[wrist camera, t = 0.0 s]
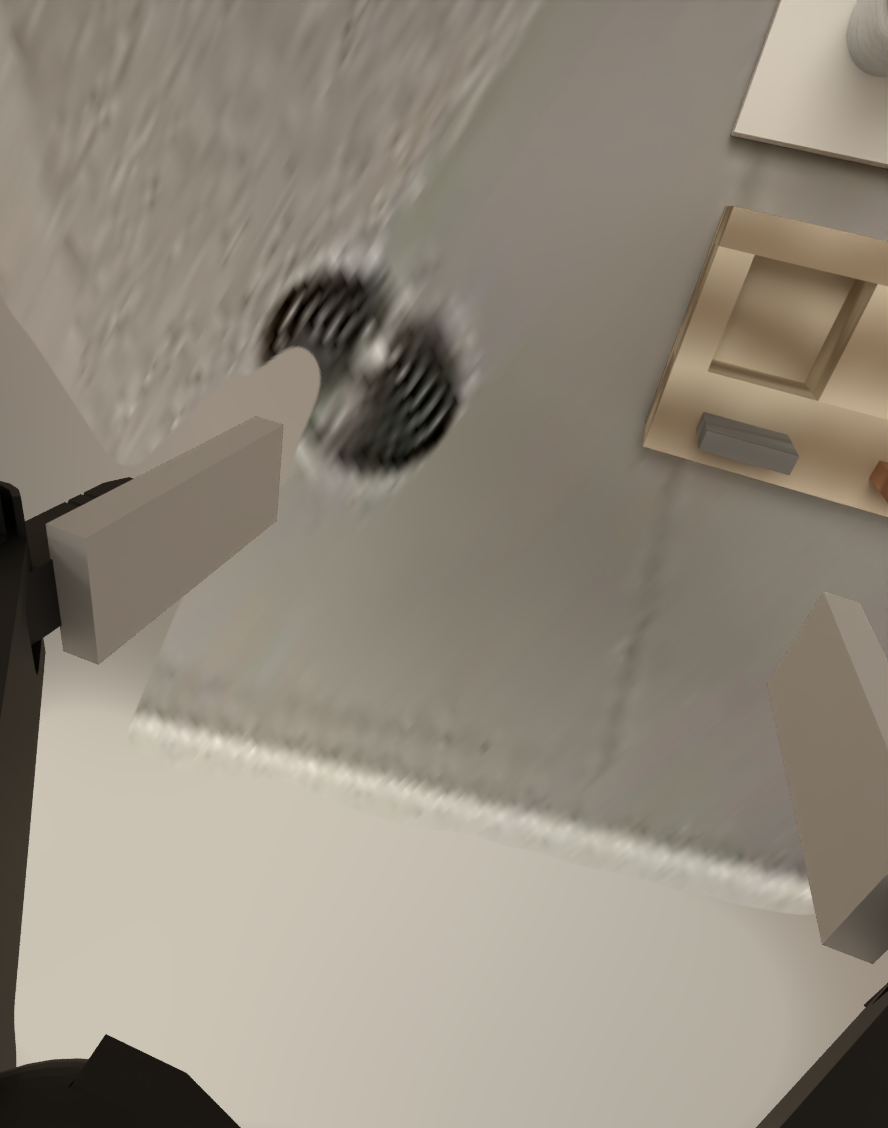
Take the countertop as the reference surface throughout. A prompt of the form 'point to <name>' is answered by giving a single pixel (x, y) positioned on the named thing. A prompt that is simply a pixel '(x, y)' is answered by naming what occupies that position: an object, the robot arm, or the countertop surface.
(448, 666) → the countertop surface
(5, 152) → the countertop surface
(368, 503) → the countertop surface
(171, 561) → the robot arm
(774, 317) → the socket block
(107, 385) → the countertop surface
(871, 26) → the shaker with dark cap
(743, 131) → the plate
